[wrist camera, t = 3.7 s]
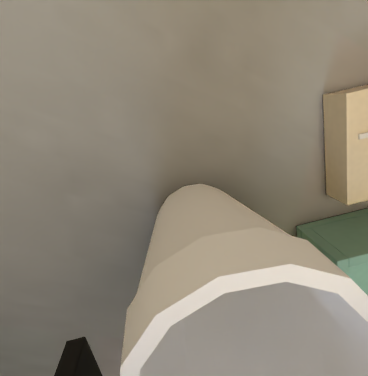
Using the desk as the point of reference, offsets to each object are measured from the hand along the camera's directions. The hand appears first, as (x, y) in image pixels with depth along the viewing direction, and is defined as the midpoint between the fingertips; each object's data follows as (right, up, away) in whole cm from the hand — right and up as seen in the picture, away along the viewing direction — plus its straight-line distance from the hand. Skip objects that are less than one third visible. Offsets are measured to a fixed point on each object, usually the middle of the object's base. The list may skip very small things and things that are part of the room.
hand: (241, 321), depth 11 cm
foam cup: (-2, +3, +10) cm, 11 cm away
